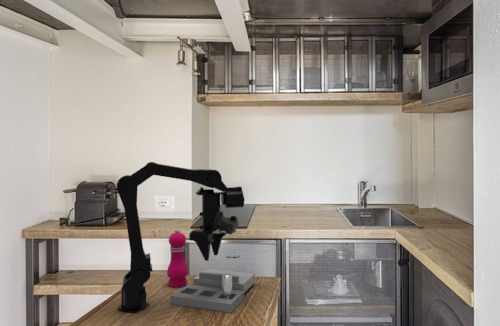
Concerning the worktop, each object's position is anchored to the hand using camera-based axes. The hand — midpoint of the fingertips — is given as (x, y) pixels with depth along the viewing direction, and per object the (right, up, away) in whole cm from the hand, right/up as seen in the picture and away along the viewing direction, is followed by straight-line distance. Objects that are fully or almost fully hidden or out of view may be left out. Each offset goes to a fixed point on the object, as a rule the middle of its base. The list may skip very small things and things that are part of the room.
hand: (211, 257), depth 114 cm
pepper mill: (-13, -13, +13) cm, 23 cm away
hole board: (-1, -13, -2) cm, 13 cm away
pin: (+5, -13, -5) cm, 15 cm away
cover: (+3, -13, +10) cm, 17 cm away
